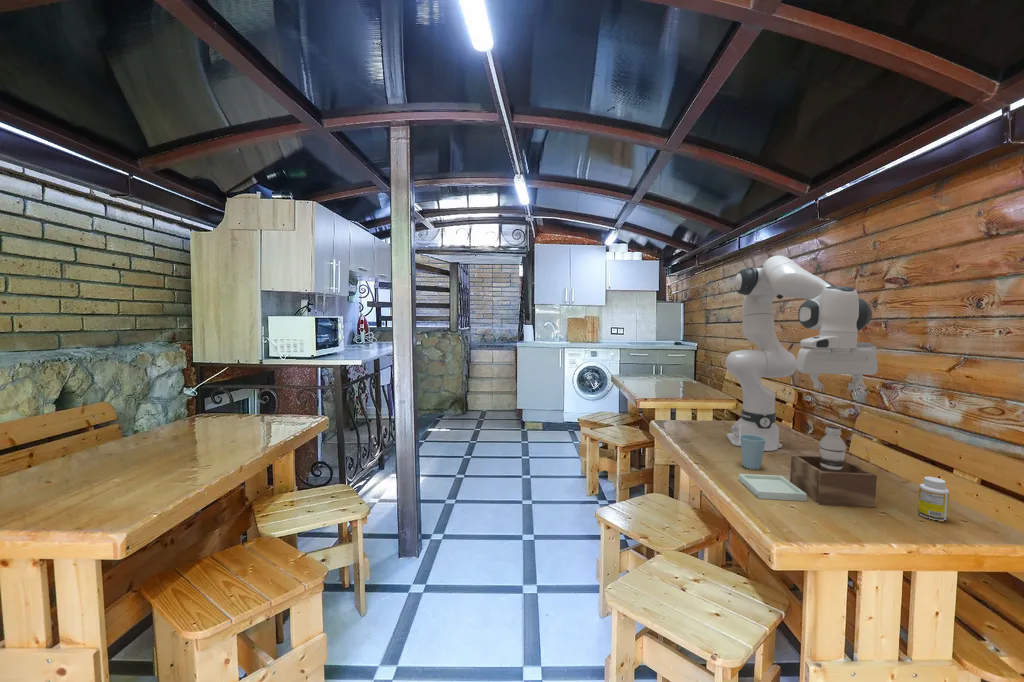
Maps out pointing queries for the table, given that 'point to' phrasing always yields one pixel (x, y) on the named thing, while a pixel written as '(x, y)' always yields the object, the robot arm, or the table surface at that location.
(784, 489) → the tray
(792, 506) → the table surface
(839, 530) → the table surface
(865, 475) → the box
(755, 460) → the cup
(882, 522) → the table surface
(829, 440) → the plastic bottle
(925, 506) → the supplement bottle
